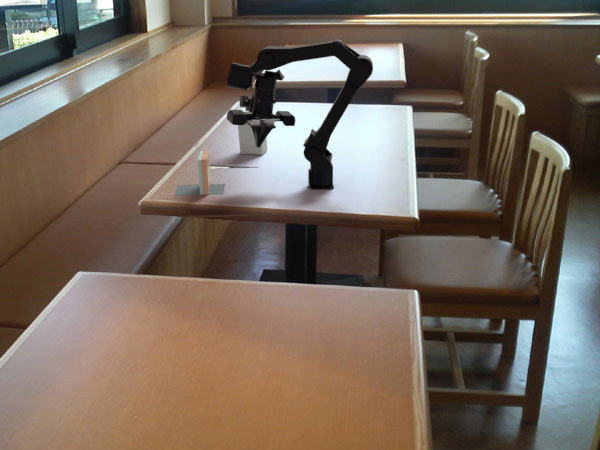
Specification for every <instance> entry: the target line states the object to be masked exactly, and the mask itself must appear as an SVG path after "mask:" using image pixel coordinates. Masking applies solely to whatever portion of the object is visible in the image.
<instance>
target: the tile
mask: <svg viewBox="0 0 600 450" xmlns="http://www.w3.org/2000/svg"><path fill="white" fill-rule="evenodd" d="M210 165H211V163H210V150H200V152H199V154H198V157H197V166H198V167H197V171H198V181H199V182H198V185H199V187H200V195H199V196H206V195H207V196H208V195H209V191H210V186H211V184H212V179H211V169H210ZM209 196H210V195H209Z"/></svg>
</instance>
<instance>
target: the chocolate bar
mask: <svg viewBox="0 0 600 450" xmlns="http://www.w3.org/2000/svg"><path fill="white" fill-rule="evenodd" d="M256 168H259V166H242V165H241V166H239V165H220V164H217V165H216V164H210V170H216V169H218V170H219V169H220V170H221V169H256Z"/></svg>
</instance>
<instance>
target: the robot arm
mask: <svg viewBox="0 0 600 450" xmlns="http://www.w3.org/2000/svg"><path fill="white" fill-rule="evenodd" d="M329 57H335V58H336V59H338V60H339V61H340V62H341V63H342V64H343V65H344V66H345V67H347V68H348V69H349V70H348V73H347V77H346V79H345V82H344V85H343V86H342V88H341V90H340V91H339V93H338V95H337V97H336V99H335V101H334V102H333V104H332V105H331V108H330V109H329V111H328V112H327V115H326V116H325V117H324V120H323V121H322V123H321V124H320V126H319V127H318V128H317V130H316V131H315V130H314V129H313V128H311V130H310V133H309V135H308V137H306V139H305V141H304V143H303V147H304V150H303V156H304V158H305V160H307V161H308V162H309V165H310V168H308V170H307V171H308V172H307V173H308V174H307V179H308V180H307V181H308V185H309V186H310V189H311V190H319V189H321V190H324V189H327V190H328V189H329V190H330V189H334V188H335V186H334V165H333V162H332V161H333V160H332V159H333V153H332V152H331V151H330V150H328V145H329V142H330V139H331V136H332V134H333V133H334V130H335V129H336V127H337V125H338V124H339V122H340V120H341V118H342V117H343V115H344V113H345V111H346V110H347V108H348V106H349V105H350V103H351V101H352V100H353V98H354V96H355V95H356V93H357V92H358V91H359V90H360V88H362V87H363V86H364V84H365V83H366V82H367V80H368V79H369V78H370V77H371V76H372V74H373V71H374V64H373V61H372V59H371V57H369V56H368V55H365V54H360V53H358V52H357V51H355V50H354V49H353V48H351V47H350V46H348V45H346V43H344V41H342V40H341V39H333V40H331V41H324V42H323V41H322V42H317V43H312V44H311V43H310V44H304V45H298V46H281V45H268V46H265V47H263V48H262V49H261V50H260V51H259V52H258V54H257V58H256V61H255V62H253V63H252V64H251V65H247V64H241V63H238V62H235V61H234V62H231V63H230V68H229V72H228V76H227V81H226V82H227V83H226V84H227V85H226V86H227V88H231V89H237V90H242V91H249V89H250V88H253V87H254V90H253V91H254V92H253V93H252V95H251V98H249V95H240V97H239V107H240V108H246V111H249V112H252V114H245V113H244V112H243V111H242V110H240V109H229V110H228V112H226V119H227V121H228V122H230V124H231V125H233V126H238V125H244V124H246V123H247V124H248V125H249V126H250V127H251V128H252V131H253V135H254V139H255V144H256V147H260V146H261V145H262V143H263V142H264V140H265V138H267V137H268V135H269V134H270V133H271V132H272V130H273V129H277V128H276V127H277V126H276V125H275V123H276V122H282V124H283V126H285V127H295V125H296V116H295V115H293V113H291V112H289V111H288V110H277V111H276V112H275V114H274V111H273V110H274V105H275V104H276V103H277V100H276V99H275V96H276V89H277V81H280V82H281V81H283V80H284V79H285V76H284V74H283V73H282V72H281V70H280V69H278V68H280V67H283V66H286V65H288V64H291V63H295V62H303V61H310V60H316V59H322V58H329ZM275 69H278V70H277V71H272V70H275ZM263 70H265V71H264V72H260V71H263ZM254 82H255V84H254ZM254 85H255V86H254ZM255 117H257V118H255Z"/></svg>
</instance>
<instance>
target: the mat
mask: <svg viewBox="0 0 600 450" xmlns="http://www.w3.org/2000/svg"><path fill="white" fill-rule="evenodd" d="M225 187H226V183H213V184H212V183H211V186H210V191H209V196H211V195H213V196H214V195H224V193H225V189H226V188H225ZM174 196H201V195H200V187H199V184H178V185H177V187H176V189H175V192H174Z"/></svg>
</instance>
